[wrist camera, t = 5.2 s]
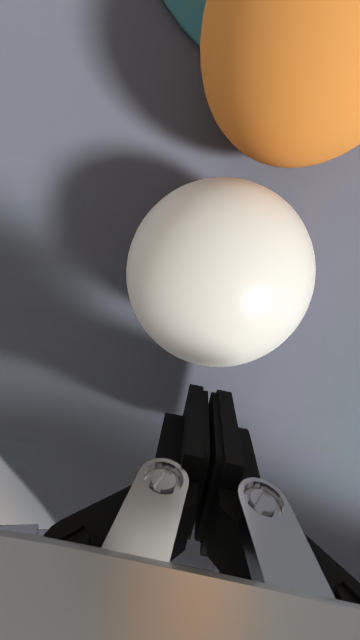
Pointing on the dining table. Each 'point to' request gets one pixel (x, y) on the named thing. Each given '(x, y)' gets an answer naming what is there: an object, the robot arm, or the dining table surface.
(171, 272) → the white ball
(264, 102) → the orange ball
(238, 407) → the dining table surface
